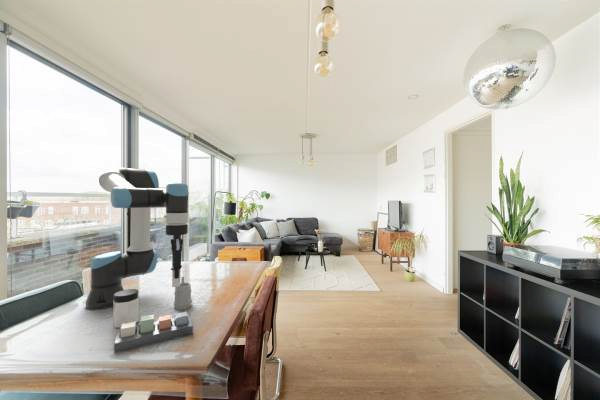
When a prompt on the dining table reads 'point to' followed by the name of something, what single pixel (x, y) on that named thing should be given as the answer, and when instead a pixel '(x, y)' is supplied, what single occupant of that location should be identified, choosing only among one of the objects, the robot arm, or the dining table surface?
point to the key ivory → (128, 329)
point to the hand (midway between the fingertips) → (176, 286)
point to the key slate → (181, 318)
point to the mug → (182, 295)
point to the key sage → (147, 323)
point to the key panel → (152, 335)
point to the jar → (125, 307)
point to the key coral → (164, 322)
